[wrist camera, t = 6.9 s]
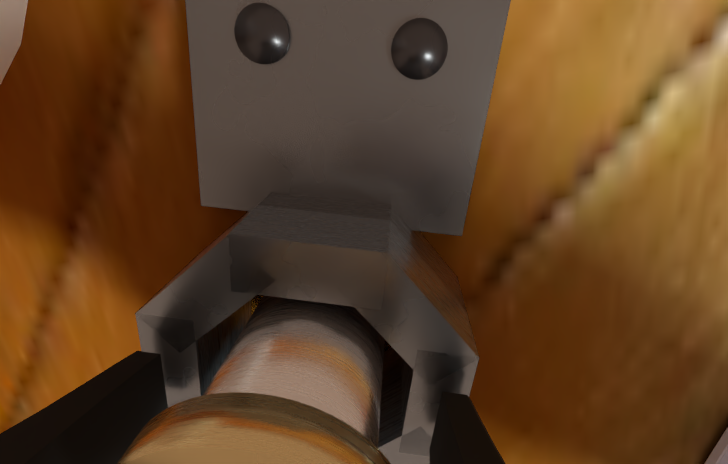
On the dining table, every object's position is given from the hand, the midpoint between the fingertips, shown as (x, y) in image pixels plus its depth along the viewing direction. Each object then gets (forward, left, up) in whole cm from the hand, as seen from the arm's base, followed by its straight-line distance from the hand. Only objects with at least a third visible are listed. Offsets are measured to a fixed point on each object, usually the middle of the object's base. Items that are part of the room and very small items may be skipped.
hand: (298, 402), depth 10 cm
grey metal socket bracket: (0, 0, -4) cm, 4 cm away
